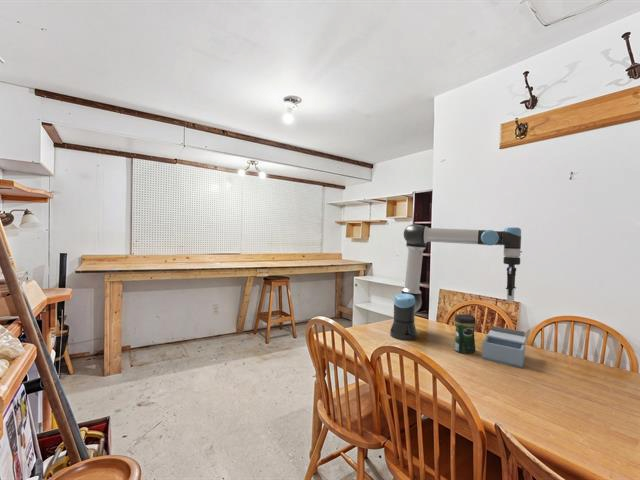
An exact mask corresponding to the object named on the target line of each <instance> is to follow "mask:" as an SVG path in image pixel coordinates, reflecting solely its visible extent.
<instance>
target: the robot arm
mask: <svg viewBox="0 0 640 480" xmlns="http://www.w3.org/2000/svg"><path fill="white" fill-rule="evenodd" d="M403 238H404V239H405V241H406V243H405V244H406V247H407V248H408V249H407V250H408V251H407V258H406V259H407V261H406V270H405V271H406V272H405V280H404V288H401V293H397V294H396V295H395V296H394V299H393V322H392V325H391V327H390V332H389V335H390V336H391V337H392V338H393V339H394V338H395V339H398V340H402V341H403V340H405V341H412V340H416V339H418V331H417V328H416V324H415V320H416V319H415V317H416V316H415V315H416V314H415V313H416V312H418V311H419V310H420V309H421V308H422V304H423V302H422V300H423V299H422V291H421V290H420V285H421V275H422V265H423V257H424V250H426V248H427V243H429V242H430V243H444V244H446V243H447V244H466V245H468V244H469V245H480V246H481V245H482V246H503V264H504V265H507V267H506V276H507V277H506V287H505V289H506V290H507V291H506V302H508V303H509V302H510V303H514V302H515V290H516V289H517V287H516V285H515V283H516V275H517V274H516V272H517V267H516V266H519V265H520V264H521V253H522V252H523V250H521V247H522V246H521V245H522V229H521V228H520V227H504V230H498V231H497V230H494V229H465V228H463V229H461V228H441V227H440V228H437V227H436V228H435V227H429V226H427V225H426V226H425V225H421V224H416V223H415V224H413V223H412V224H409V225H408V226H406V227H405V229H404V231H403Z"/></svg>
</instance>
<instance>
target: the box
mask: <svg viewBox="0 0 640 480" xmlns="http://www.w3.org/2000/svg"><path fill="white" fill-rule="evenodd" d="M481 348H482V349H481V352H482V353H481V359H482V360H485V361H490V362H493V363H498V364H503V365H507V366H511V367H515V368H518V369H519V368H520V369H523V367H524V363H525V359H526V342H525V343H524V344H521V343H516V342H511V341H506V340H501V339H495V338H490V337H487V336H486V337H485V338H484V339H483V341H482V347H481Z"/></svg>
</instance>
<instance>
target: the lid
mask: <svg viewBox="0 0 640 480" xmlns="http://www.w3.org/2000/svg"><path fill="white" fill-rule="evenodd" d="M491 328H492V329H490V330H489V331H488V333H487V334H486V337H490V338H495V339H501V340H506V341H511V342H516V343H521V344H524V343H525V344H526V340H527V336H525V331H523V330H517V329H511V328H506V327H499V326H496V325H495V326H494V325H493V326H491Z"/></svg>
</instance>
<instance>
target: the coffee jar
mask: <svg viewBox="0 0 640 480" xmlns="http://www.w3.org/2000/svg"><path fill="white" fill-rule="evenodd" d="M454 324H455V334H454V335H455V336H454V343H453V350H454V351H456V352H458V353H459V354H474V353H476V340H475V327H476V324H477V321H476V317H475V316H474V315H473V314H467V313H466V314H465V313H463V314H460V313H459V314H457V313H456V314H455V316H454Z"/></svg>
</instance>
